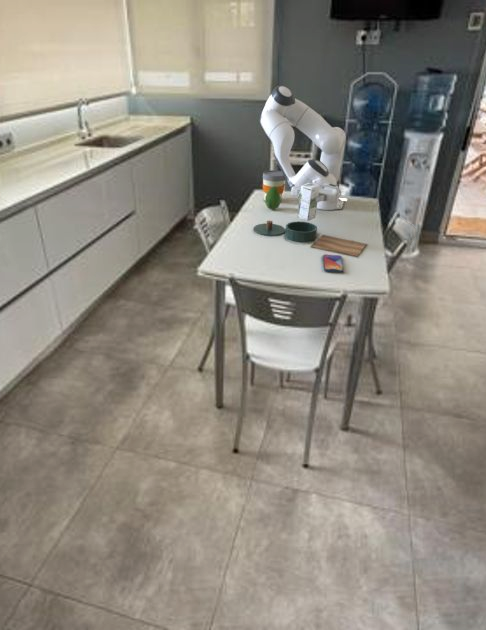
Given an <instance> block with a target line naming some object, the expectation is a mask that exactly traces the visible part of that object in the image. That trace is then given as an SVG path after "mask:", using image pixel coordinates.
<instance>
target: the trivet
mask: <svg viewBox="0 0 486 630" xmlns="http://www.w3.org/2000/svg"><path fill="white" fill-rule="evenodd" d="M366 246H367V243H365V242H360V241H355V240H350V239H345V238H340V237H335V236H330V235H325V234H322V235H321V236H320V237H319V238H318V239H317V240H315V241H314V242H313V244H312V245H311V248H314V249H318V250H323V251H327V252H332V253H337V254H340V255H346V256H350V257H356V258H358V257H359V255H360V254H361V253H362V252H363V251H364V249H365V247H366Z"/></svg>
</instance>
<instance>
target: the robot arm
mask: <svg viewBox="0 0 486 630" xmlns="http://www.w3.org/2000/svg"><path fill="white" fill-rule="evenodd" d="M258 120H259V125H260V126H261V127H262V129H263V131H264V133H265V134H266V135H267V137H268V138H269V140H270V141H271V143H272V146H273V156H274V159H275V161H276V163H277V165H278V167H279V169H280V171H282V173H283V175H284V176H285V178H286V179H285V181H286V182H287V185H288V187H289V190H290V194H291V197H292V196H293V197H297V198H298V199H300V192H301V185H304V184H307V183H313V184H316V185H319V186H320V189H319V195H318V196H317V197H316V200H315V201H317V208H316V210H321V211H322V210H324V211H333V210H342V209H343V206H344V203H345V202H347V201H348V199H347V198H341V197H342V191H341V188H340V184H341V183H340V182H341V178H340V174H341V167H342V162H343V155H344V151H345V147H346V139H347V136H346V132H345V131H344V129H342V128H341V127H338V126H331V124H329V123H328V122H327V121H326V120H325V119H324V117H323V116H322V115H320V114H319V113H318V112H317V111H315V110H314V109H312V108H311V107H310V106H309V105H307V104H306V103H305V102H303V101H301V100H299V99H297V98H295V96H294V93H293V92H292V90H291V89H290V88H289V87H287V86H285V85H277V86H275V88H273V90H272V91H271V94H270V95H269V96H268V98H267V99H266V102H265V105H264V106H263V110H262V111H261V113H260V115H259V119H258ZM292 126H294V128H296V129H297V130H298V131H300V132H301V133H302V134H304V135H306V136H307V137H308V139H310V140H311V142H313V144H315V145H316V147H318V149H319V150H321V152H320V158H319V159H311V158H310V159H308V160H307V161H306V163H304V164H303V166H302V167H301V168H300V170H299V171H298V172H297V173H296V172H295V171H294V168H293V166H292V164H291V162H290V153H291V150H292V148H293V145H294V144H295V143H294V142H295V137H296V135H295V130H294V128H293V127H292Z"/></svg>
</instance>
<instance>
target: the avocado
mask: <svg viewBox="0 0 486 630" xmlns="http://www.w3.org/2000/svg"><path fill="white" fill-rule="evenodd" d="M264 203H265V206H266V207H267V208H268V209H269V210H272V211H274V210H277V209H278V208H280V204H281V201H280V194H279V192H278V189H277V188H276V187H275V186H273V187H271V188H270V189H269V191H268V193H267V195H266V198H265V200H264Z"/></svg>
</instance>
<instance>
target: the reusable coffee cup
mask: <svg viewBox="0 0 486 630" xmlns="http://www.w3.org/2000/svg"><path fill="white" fill-rule="evenodd" d="M285 182H286V178H285V176H284V175H283V173H282V171H281V170H273V169H272V170H265V171H263V172H262V192H263V199H264V201H265V198H266V195H267V193H268V191H269V189H270V188H271V187H273V186H275V187H276V188H277V189H278V192H279V194H280V202H281V201H282V198H283V197H282V196H283V193H284V190H285V185H286V184H285Z"/></svg>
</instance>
